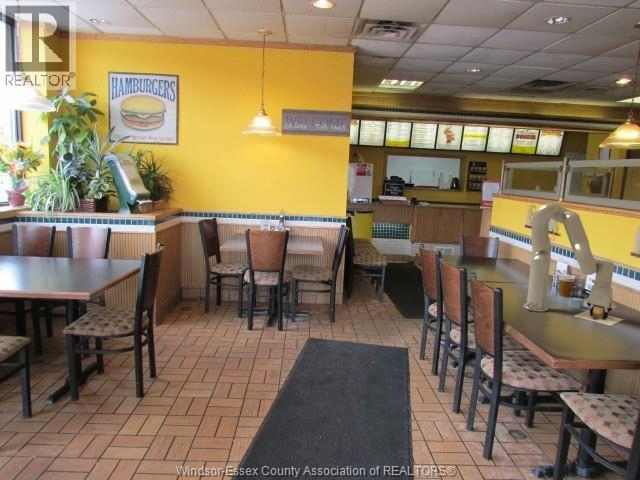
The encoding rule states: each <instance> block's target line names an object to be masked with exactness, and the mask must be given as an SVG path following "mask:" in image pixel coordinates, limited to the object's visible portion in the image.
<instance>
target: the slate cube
mask: <svg viewBox="0 0 640 480" xmlns="http://www.w3.org/2000/svg"><path fill="white" fill-rule="evenodd" d="M584 303H585V299H583V298H579V297H578V298H577V297H573V298H570V305H569V306H570V307H571V308H577V309H581V308H584Z"/></svg>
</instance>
